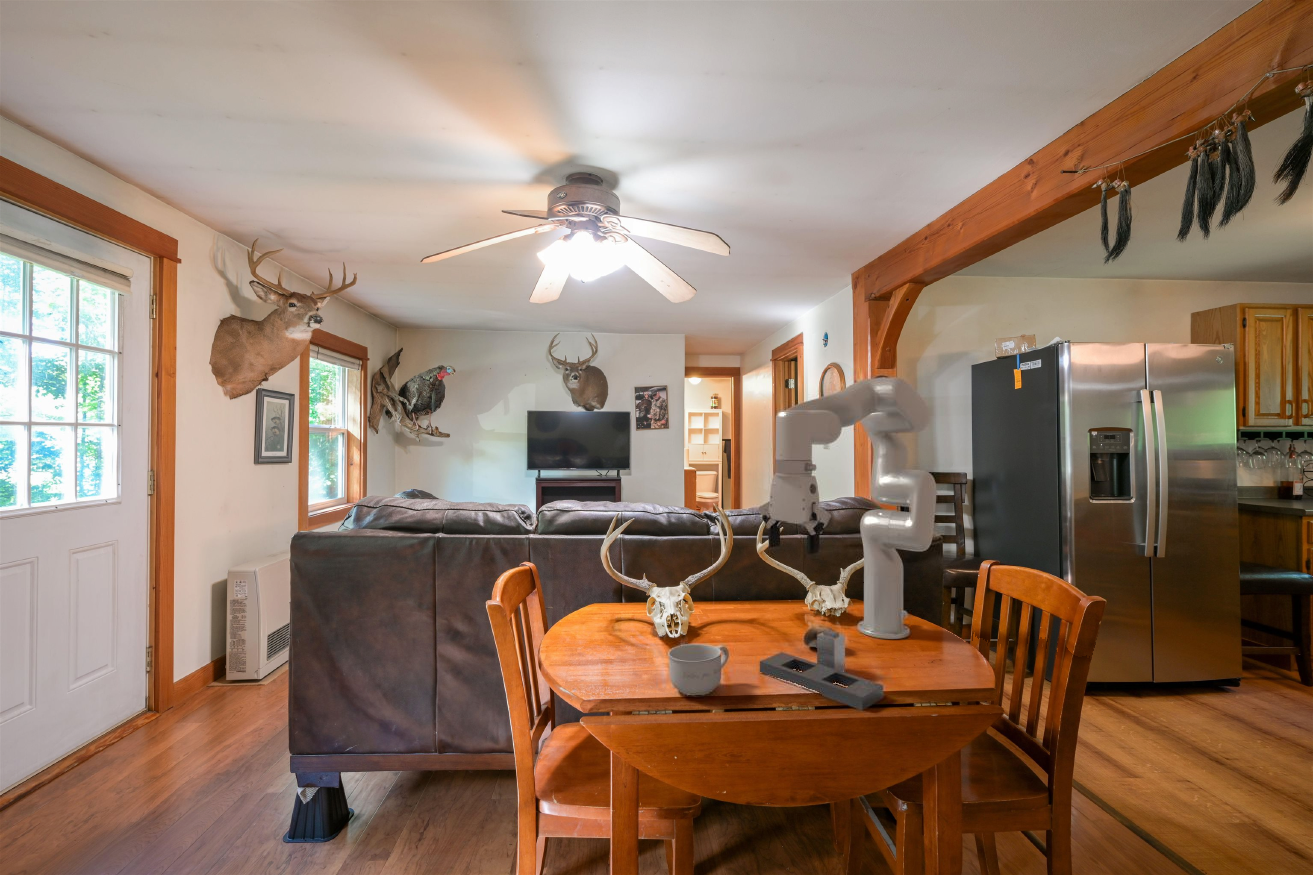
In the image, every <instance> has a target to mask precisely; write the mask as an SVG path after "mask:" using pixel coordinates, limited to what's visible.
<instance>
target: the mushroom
mask: <svg viewBox="0 0 1313 875" xmlns="http://www.w3.org/2000/svg"><path fill="white" fill-rule="evenodd" d="M827 630H833V631H835V630H834V629H833V628H831V627H829V626H825V625H814V626H812V627H811V628H809V629H808V630H807V631H805V634H804V635H803V642H804V643H803V644H804V645H805V646H807V647H809V648H817V635H818V634H820V633H823V632H824V631H827Z"/></svg>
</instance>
